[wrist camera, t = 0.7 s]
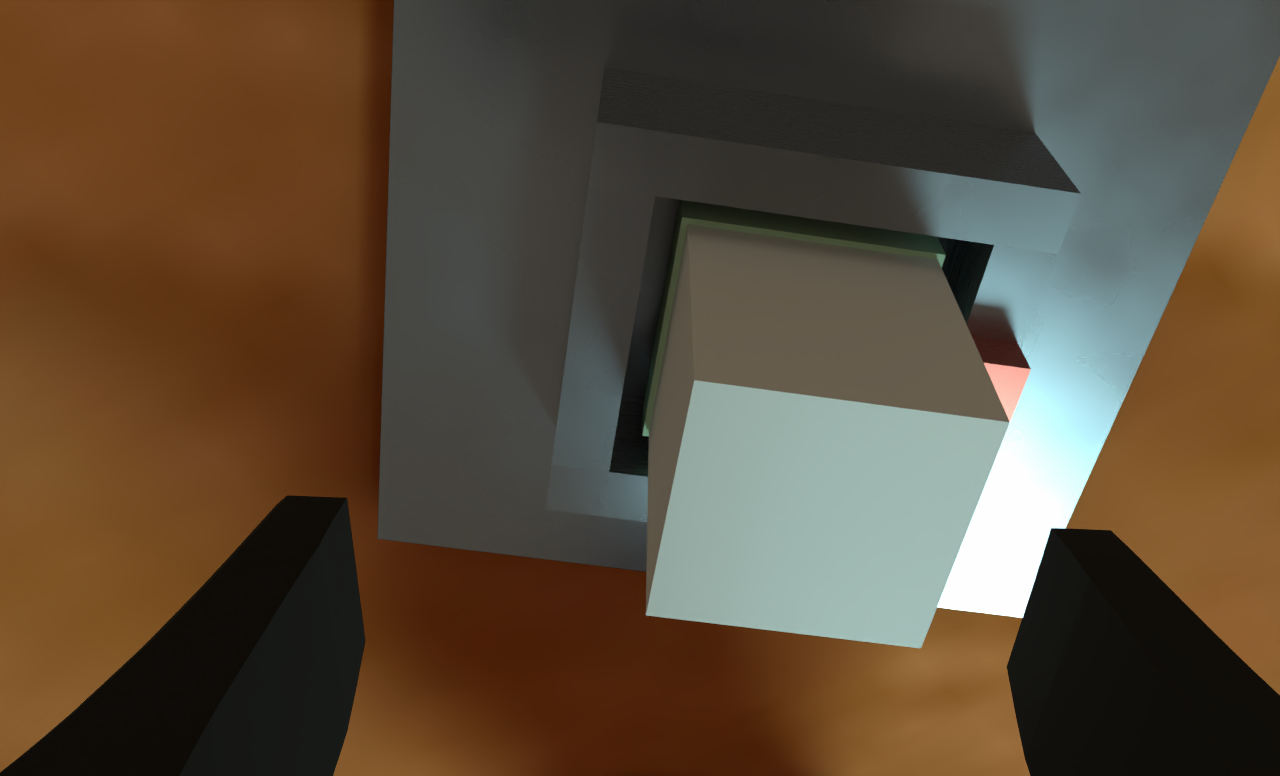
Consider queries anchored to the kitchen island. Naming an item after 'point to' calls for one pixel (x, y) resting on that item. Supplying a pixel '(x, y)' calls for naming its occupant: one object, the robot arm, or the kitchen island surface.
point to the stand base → (790, 185)
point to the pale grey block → (810, 427)
